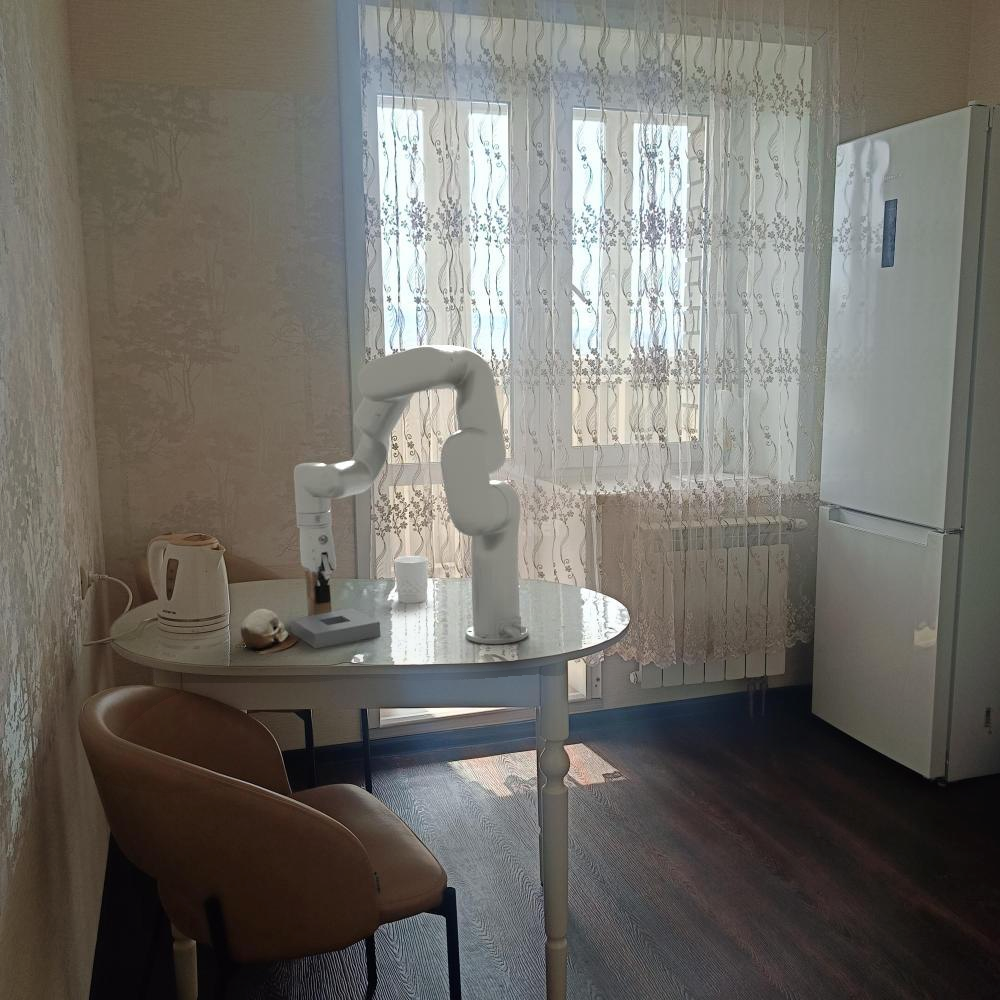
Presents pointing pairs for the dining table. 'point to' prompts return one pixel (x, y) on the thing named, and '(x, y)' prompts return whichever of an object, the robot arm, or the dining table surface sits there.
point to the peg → (310, 586)
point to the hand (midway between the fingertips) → (319, 599)
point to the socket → (335, 628)
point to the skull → (265, 633)
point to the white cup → (411, 578)
